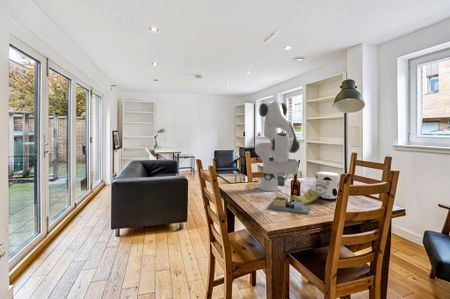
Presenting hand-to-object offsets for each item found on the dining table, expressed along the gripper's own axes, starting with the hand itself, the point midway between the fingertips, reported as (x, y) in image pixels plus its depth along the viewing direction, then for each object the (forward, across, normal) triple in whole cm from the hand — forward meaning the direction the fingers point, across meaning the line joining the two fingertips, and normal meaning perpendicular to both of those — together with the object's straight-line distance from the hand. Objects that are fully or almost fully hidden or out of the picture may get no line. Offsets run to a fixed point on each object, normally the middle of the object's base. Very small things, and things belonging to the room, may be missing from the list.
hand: (281, 180), depth 155 cm
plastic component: (+18, -13, -19) cm, 29 cm away
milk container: (+18, -26, -37) cm, 49 cm away
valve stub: (+3, 0, 0) cm, 3 cm away
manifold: (+18, -6, 0) cm, 19 cm away
